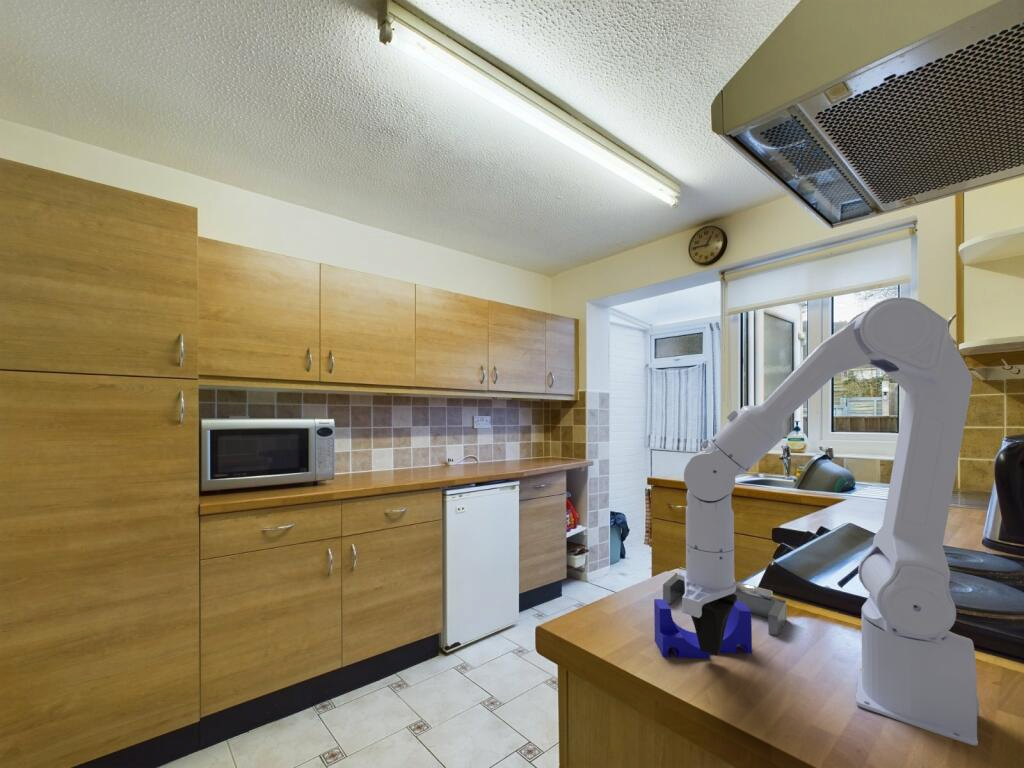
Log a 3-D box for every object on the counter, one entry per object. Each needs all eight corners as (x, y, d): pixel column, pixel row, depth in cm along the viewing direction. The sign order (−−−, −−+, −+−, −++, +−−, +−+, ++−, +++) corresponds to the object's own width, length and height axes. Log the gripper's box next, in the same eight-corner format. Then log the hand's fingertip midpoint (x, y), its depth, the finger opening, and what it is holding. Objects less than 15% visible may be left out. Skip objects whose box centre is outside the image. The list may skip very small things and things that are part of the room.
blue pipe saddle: (662, 660, 61) (662, 613, 61) (654, 642, 65) (654, 599, 65) (757, 663, 60) (756, 616, 60) (742, 645, 64) (741, 601, 65)
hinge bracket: (786, 619, 71) (786, 592, 71) (777, 637, 66) (777, 608, 66) (677, 588, 82) (677, 565, 82) (663, 602, 77) (662, 577, 77)
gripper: (696, 525, 68) (696, 618, 68) (657, 553, 57) (657, 665, 56) (749, 535, 63) (749, 635, 63) (717, 567, 52) (718, 689, 52)
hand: (710, 650), depth 59 cm, fingers closed
